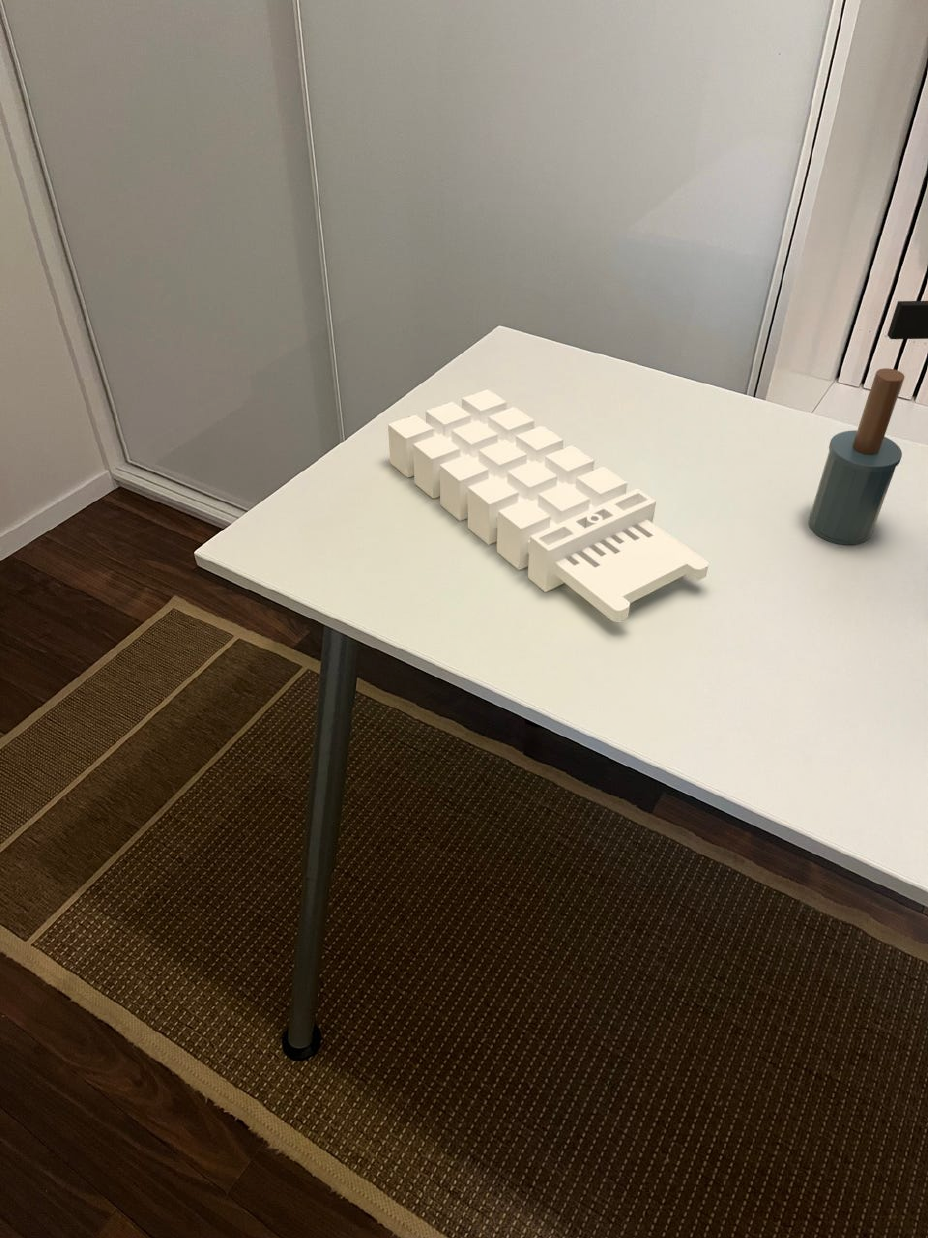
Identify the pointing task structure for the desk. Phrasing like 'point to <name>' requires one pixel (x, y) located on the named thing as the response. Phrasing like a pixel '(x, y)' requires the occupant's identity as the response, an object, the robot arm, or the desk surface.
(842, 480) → the tin
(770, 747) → the desk surface
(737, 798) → the desk surface
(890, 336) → the robot arm
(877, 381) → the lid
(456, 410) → the organizer
